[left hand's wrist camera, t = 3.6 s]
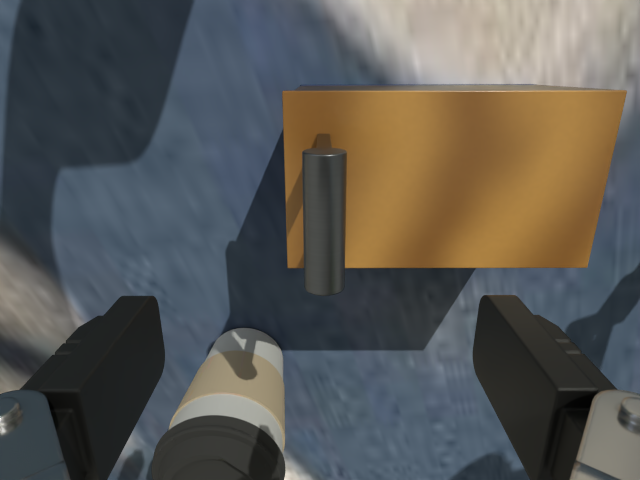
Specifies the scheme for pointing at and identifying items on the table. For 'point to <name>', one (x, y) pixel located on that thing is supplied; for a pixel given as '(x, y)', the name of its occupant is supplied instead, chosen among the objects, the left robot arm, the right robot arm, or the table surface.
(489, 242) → the lid
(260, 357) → the coffee cup
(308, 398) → the table surface
